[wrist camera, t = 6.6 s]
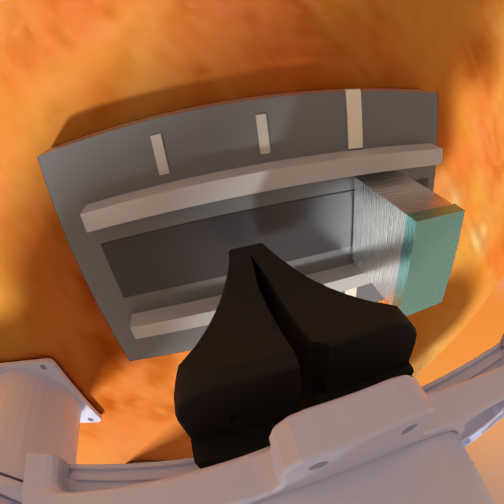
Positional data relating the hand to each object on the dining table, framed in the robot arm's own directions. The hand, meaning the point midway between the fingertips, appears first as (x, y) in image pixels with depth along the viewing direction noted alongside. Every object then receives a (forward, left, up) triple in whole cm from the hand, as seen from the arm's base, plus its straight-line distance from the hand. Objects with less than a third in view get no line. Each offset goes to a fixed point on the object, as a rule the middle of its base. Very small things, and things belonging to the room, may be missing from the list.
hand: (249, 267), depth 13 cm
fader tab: (+7, 0, -2) cm, 7 cm away
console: (+2, 0, -3) cm, 4 cm away
